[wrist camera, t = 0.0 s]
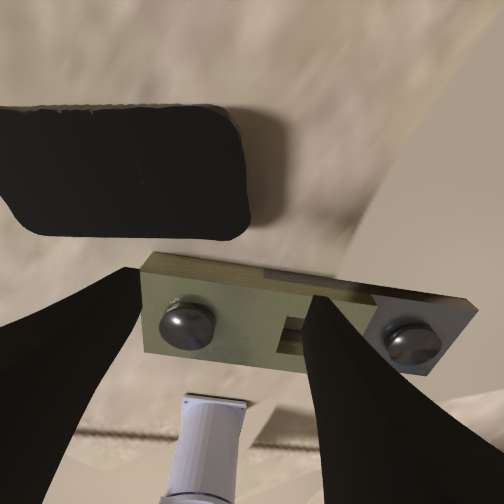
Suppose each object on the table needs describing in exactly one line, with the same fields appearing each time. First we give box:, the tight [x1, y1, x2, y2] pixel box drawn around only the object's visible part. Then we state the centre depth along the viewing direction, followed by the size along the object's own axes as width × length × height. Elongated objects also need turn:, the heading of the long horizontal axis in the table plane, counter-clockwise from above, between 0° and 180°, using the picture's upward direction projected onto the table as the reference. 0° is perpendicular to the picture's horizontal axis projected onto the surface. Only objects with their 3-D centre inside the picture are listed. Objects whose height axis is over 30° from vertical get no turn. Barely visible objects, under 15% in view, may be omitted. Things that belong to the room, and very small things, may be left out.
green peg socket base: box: [140, 252, 478, 376], centre depth 22 cm, size 9×28×4 cm, turn 81°
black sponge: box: [0, 104, 251, 241], centre depth 17 cm, size 16×8×4 cm, turn 90°
